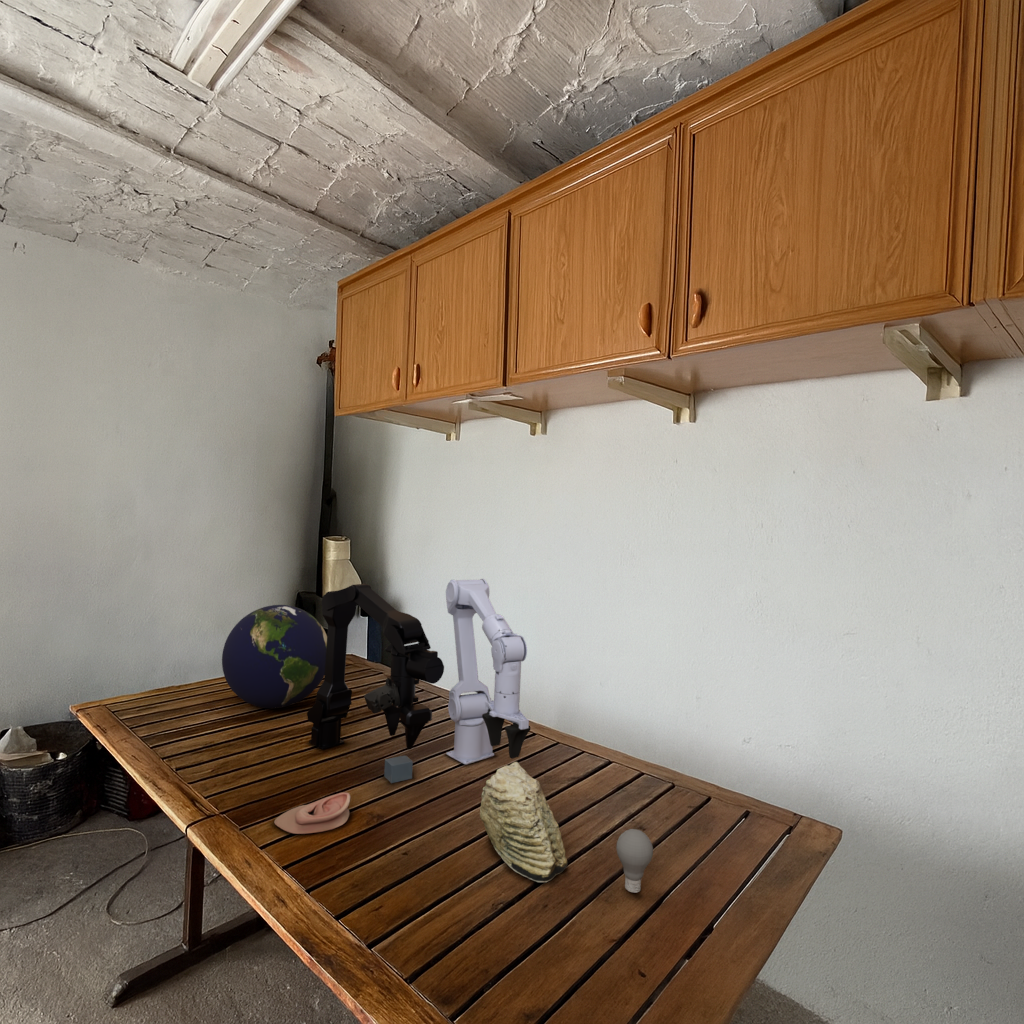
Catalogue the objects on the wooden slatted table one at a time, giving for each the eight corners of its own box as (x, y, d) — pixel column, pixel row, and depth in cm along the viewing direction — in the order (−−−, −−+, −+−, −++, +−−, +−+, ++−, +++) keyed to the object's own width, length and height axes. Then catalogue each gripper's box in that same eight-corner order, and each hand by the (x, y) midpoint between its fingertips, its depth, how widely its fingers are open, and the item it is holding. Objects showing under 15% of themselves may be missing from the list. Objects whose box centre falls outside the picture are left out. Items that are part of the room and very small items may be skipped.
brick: (384, 776, 145) (384, 759, 145) (404, 771, 148) (405, 754, 148) (391, 783, 141) (392, 765, 141) (412, 778, 144) (412, 761, 144)
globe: (289, 685, 209) (292, 594, 208) (348, 705, 191) (352, 606, 191) (199, 706, 185) (203, 604, 184) (258, 732, 167) (262, 619, 167)
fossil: (501, 827, 124) (504, 751, 124) (575, 868, 111) (578, 784, 111) (467, 843, 118) (470, 763, 118) (541, 889, 105) (545, 799, 105)
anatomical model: (265, 808, 120) (298, 782, 131) (265, 829, 120) (297, 801, 131) (330, 818, 117) (357, 791, 128) (329, 840, 117) (357, 810, 128)
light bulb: (610, 879, 108) (613, 822, 108) (644, 879, 109) (647, 822, 109) (619, 902, 102) (622, 840, 102) (655, 901, 103) (658, 840, 103)
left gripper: (354, 668, 147) (351, 734, 147) (386, 689, 132) (383, 764, 132) (398, 662, 153) (396, 726, 154) (434, 682, 138) (431, 753, 138)
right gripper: (474, 684, 145) (472, 743, 145) (510, 702, 133) (507, 766, 133) (500, 680, 149) (498, 737, 149) (537, 697, 137) (534, 760, 137)
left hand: (400, 742), depth 144 cm, fingers open, 9 cm apart
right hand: (504, 751), depth 141 cm, fingers open, 7 cm apart
